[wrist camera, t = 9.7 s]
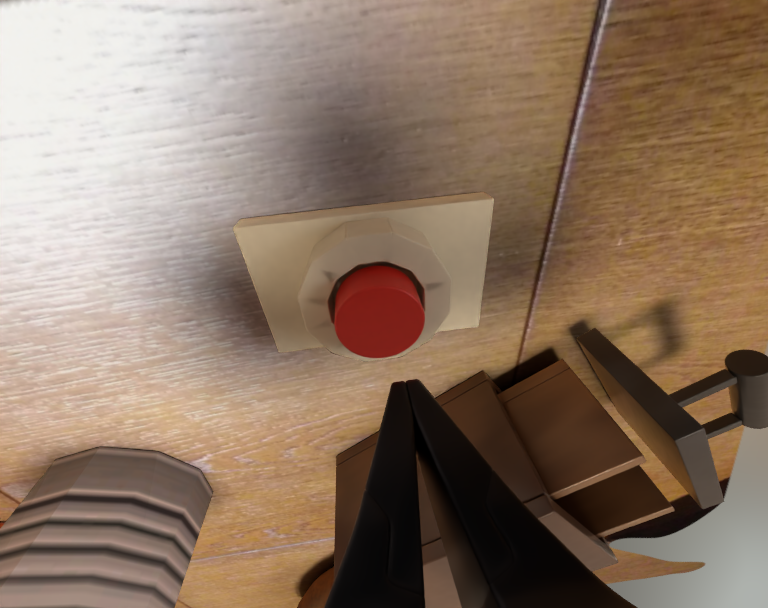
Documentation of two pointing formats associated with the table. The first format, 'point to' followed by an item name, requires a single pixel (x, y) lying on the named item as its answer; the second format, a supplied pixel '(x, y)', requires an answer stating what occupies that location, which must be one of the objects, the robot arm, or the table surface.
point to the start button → (378, 312)
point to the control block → (368, 263)
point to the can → (104, 532)
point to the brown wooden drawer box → (506, 456)
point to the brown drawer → (612, 446)
